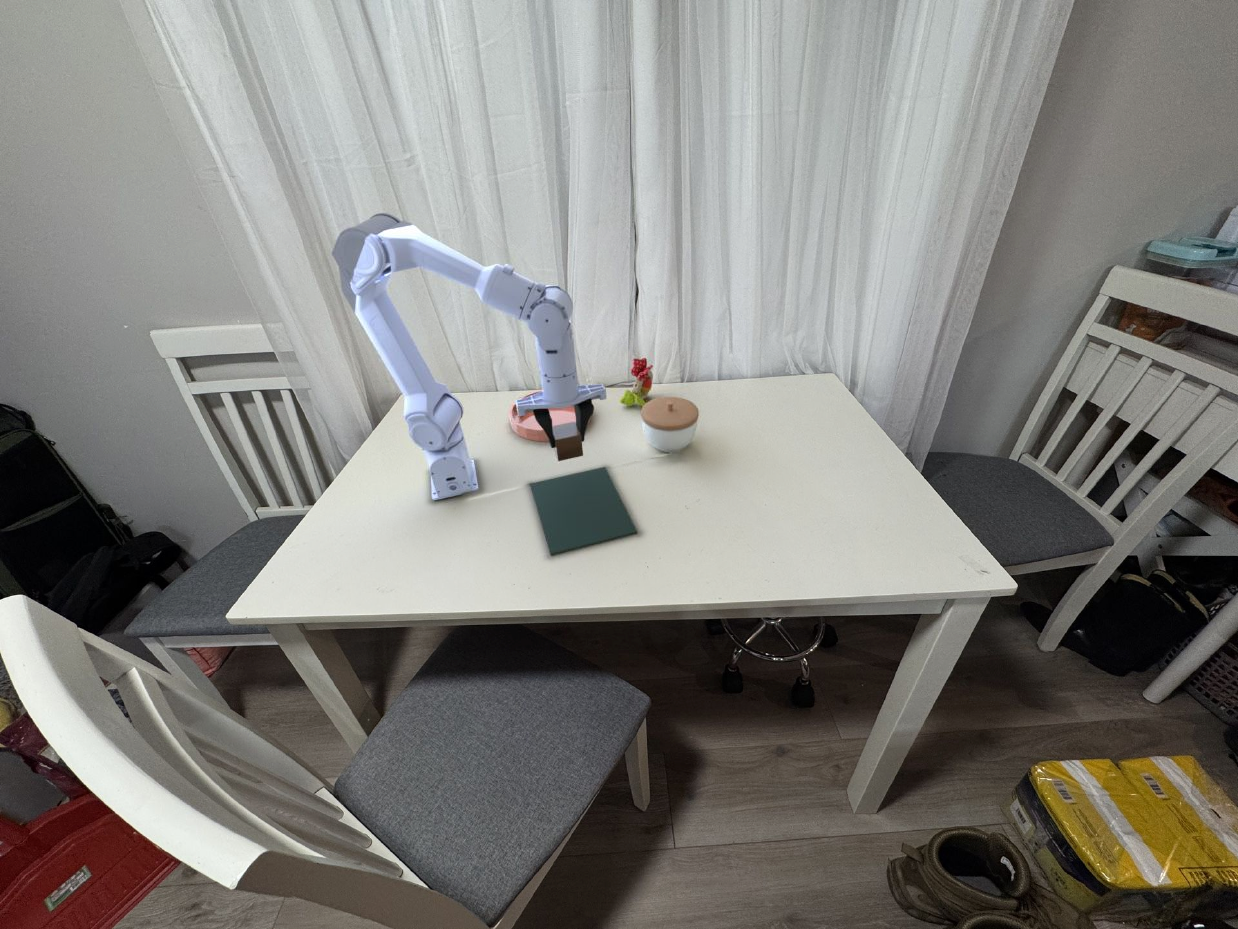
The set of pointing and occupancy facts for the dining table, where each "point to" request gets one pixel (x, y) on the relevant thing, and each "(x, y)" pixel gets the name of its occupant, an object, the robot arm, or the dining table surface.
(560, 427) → the block
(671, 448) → the trinket box
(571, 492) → the mat
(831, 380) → the dining table surface
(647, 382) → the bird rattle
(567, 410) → the round pink tray
